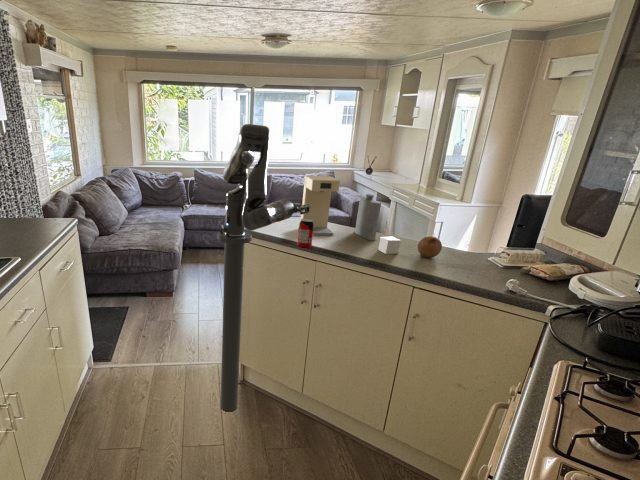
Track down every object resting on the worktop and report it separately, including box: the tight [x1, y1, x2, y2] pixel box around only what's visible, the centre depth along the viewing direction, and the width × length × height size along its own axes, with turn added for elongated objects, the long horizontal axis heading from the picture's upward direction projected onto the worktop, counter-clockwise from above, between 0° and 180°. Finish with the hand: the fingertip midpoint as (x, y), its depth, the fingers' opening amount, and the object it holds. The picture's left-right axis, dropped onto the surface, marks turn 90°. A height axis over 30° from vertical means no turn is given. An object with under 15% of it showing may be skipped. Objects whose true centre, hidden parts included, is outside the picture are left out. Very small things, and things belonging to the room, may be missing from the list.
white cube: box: [377, 235, 401, 255], centre depth 186 cm, size 6×6×6 cm
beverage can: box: [297, 218, 314, 249], centre depth 187 cm, size 6×6×12 cm
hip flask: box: [354, 193, 382, 242], centre depth 206 cm, size 16×4×20 cm, turn 15°
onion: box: [417, 235, 443, 259], centre depth 181 cm, size 10×9×10 cm
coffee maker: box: [300, 175, 341, 236], centre depth 209 cm, size 14×13×26 cm
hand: (298, 204), depth 173 cm, fingers open, 8 cm apart
